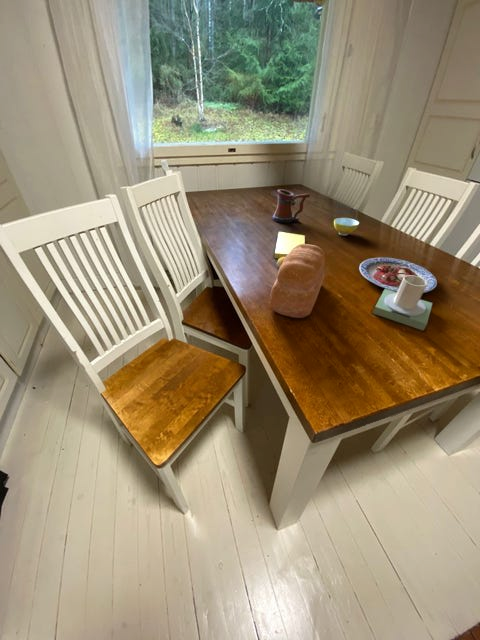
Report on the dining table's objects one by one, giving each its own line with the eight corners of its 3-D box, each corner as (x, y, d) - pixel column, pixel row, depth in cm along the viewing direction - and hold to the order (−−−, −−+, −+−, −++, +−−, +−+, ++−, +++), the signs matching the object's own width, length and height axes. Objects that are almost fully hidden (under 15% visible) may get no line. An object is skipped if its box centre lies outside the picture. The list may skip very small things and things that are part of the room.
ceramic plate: (358, 258, 113) (360, 251, 112) (427, 269, 107) (431, 262, 105) (357, 289, 94) (359, 282, 93) (440, 304, 88) (445, 297, 86)
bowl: (329, 229, 139) (331, 217, 135) (351, 230, 139) (355, 217, 135) (334, 238, 130) (337, 225, 126) (358, 238, 130) (362, 225, 126)
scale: (428, 309, 86) (433, 301, 84) (423, 330, 78) (428, 322, 76) (382, 295, 92) (385, 287, 90) (372, 313, 84) (375, 305, 82)
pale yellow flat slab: (303, 260, 111) (303, 238, 130) (304, 255, 110) (304, 233, 128) (274, 257, 113) (278, 236, 131) (274, 253, 112) (278, 231, 130)
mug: (306, 218, 152) (310, 189, 143) (304, 225, 143) (309, 195, 134) (274, 215, 156) (276, 186, 146) (271, 222, 147) (273, 192, 137)
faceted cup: (417, 302, 83) (428, 279, 78) (414, 311, 80) (426, 288, 74) (395, 295, 86) (405, 273, 81) (391, 304, 82) (401, 281, 77)
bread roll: (275, 262, 110) (275, 253, 107) (296, 262, 110) (298, 252, 108) (278, 272, 103) (279, 263, 101) (301, 272, 104) (303, 262, 101)
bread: (265, 312, 84) (269, 267, 74) (288, 273, 103) (293, 234, 93) (308, 323, 80) (318, 278, 70) (324, 281, 98) (334, 241, 89)
